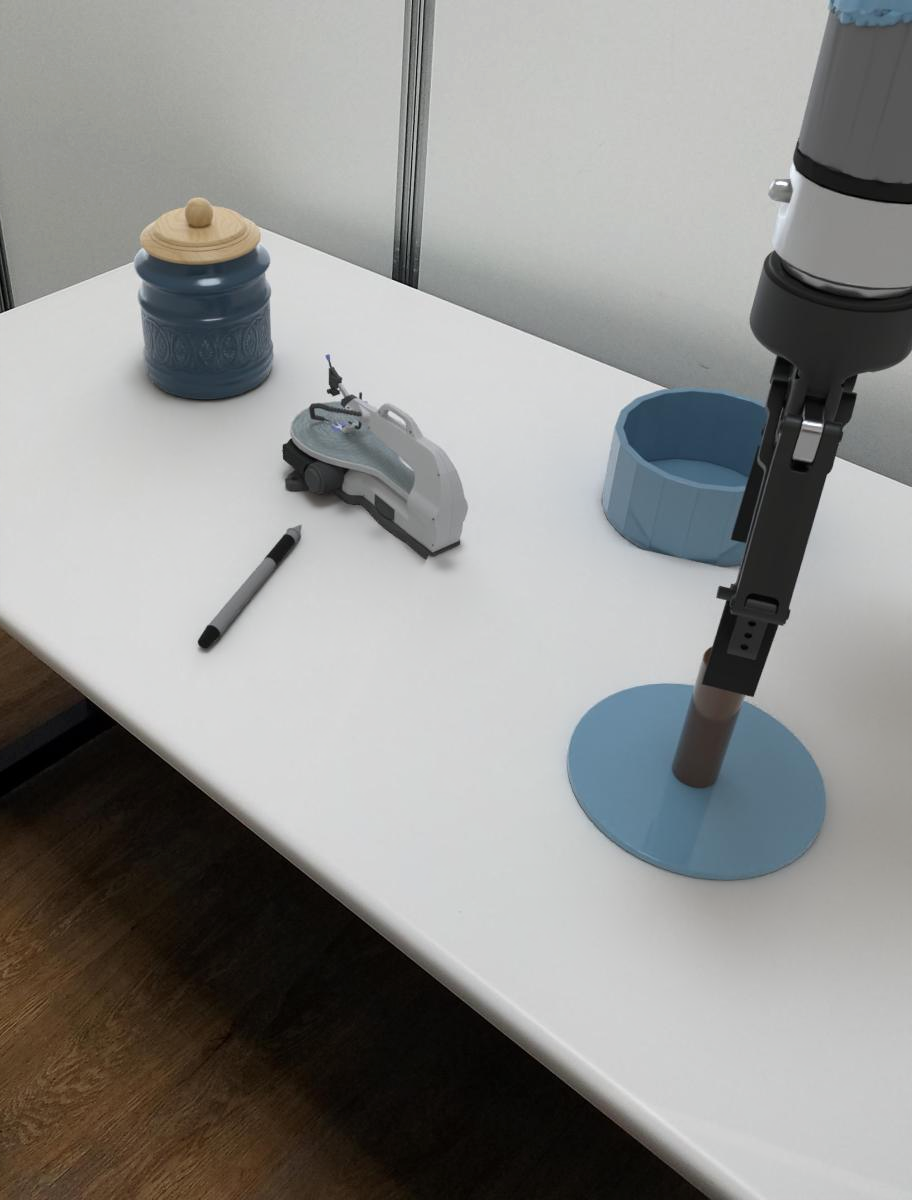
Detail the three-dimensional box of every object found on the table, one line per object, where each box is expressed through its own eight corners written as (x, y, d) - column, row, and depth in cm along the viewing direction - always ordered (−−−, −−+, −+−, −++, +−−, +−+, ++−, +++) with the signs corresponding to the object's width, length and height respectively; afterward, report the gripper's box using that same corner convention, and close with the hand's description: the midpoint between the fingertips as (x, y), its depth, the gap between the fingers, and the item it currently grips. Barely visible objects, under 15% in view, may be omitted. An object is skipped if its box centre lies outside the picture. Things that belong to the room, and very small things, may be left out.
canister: (155, 337, 125) (138, 171, 114) (277, 339, 125) (273, 172, 113) (136, 401, 115) (116, 227, 104) (269, 403, 115) (263, 229, 103)
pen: (195, 648, 89) (194, 635, 88) (295, 528, 100) (294, 515, 99) (210, 653, 88) (209, 640, 87) (309, 532, 99) (308, 519, 99)
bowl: (794, 479, 105) (817, 406, 100) (779, 585, 94) (804, 509, 89) (619, 445, 109) (633, 373, 104) (585, 542, 98) (599, 467, 93)
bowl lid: (828, 730, 82) (877, 609, 75) (812, 920, 70) (869, 798, 63) (592, 671, 87) (617, 551, 79) (541, 840, 75) (564, 718, 68)
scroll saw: (514, 425, 92) (396, 472, 87) (501, 533, 99) (391, 582, 94) (365, 324, 105) (255, 361, 100) (363, 426, 112) (259, 465, 107)
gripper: (788, 158, 64) (703, 479, 78) (737, 376, 47) (640, 740, 61) (936, 178, 62) (823, 504, 76) (941, 413, 45) (792, 781, 59)
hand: (741, 609), depth 69 cm, fingers open, 13 cm apart
